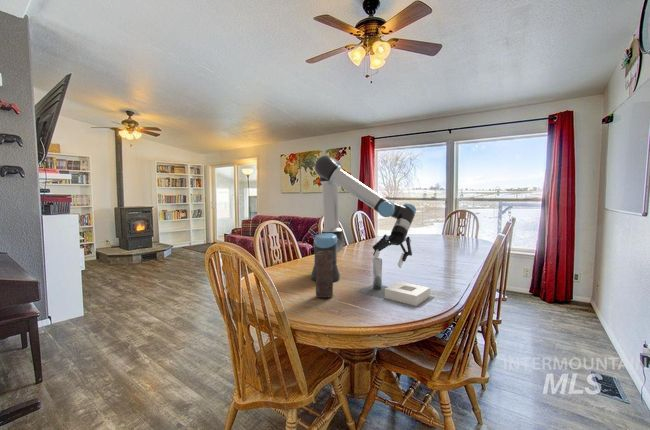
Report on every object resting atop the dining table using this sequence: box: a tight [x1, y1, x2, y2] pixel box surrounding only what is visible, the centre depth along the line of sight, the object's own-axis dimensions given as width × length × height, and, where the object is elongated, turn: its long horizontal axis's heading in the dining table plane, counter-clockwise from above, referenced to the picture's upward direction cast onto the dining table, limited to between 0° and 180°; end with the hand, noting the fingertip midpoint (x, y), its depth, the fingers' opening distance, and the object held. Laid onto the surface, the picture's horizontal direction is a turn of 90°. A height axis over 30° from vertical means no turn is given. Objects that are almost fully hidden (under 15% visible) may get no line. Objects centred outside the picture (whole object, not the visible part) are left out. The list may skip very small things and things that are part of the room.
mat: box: [356, 284, 436, 309], centre depth 133 cm, size 30×16×1 cm, turn 50°
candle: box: [315, 251, 334, 299], centre depth 130 cm, size 8×7×20 cm
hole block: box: [385, 281, 431, 306], centre depth 129 cm, size 14×14×4 cm
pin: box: [372, 257, 383, 290], centre depth 140 cm, size 4×4×14 cm
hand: (385, 264), depth 143 cm, fingers open, 13 cm apart
